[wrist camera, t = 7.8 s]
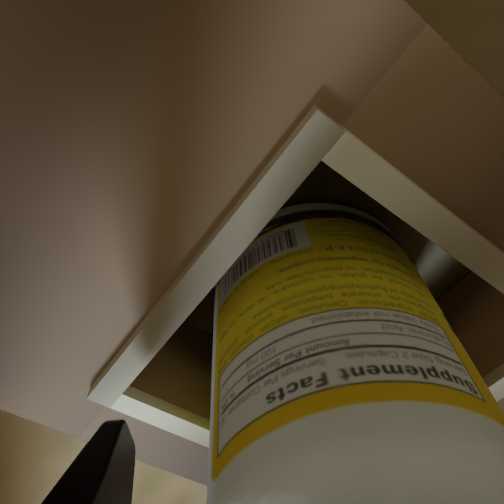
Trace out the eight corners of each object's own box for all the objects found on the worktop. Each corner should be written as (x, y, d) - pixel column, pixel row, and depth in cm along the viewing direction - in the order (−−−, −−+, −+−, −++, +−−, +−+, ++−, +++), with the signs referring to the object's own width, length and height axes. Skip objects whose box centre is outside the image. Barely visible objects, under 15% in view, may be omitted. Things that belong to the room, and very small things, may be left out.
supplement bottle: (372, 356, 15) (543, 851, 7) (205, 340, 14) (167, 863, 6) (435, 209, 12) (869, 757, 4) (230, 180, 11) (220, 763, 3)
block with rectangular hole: (-253, 194, 11) (-414, 273, 8) (-136, -475, 6) (-442, -832, 3) (350, 462, 18) (371, 554, 15) (640, 253, 13) (750, 334, 10)
